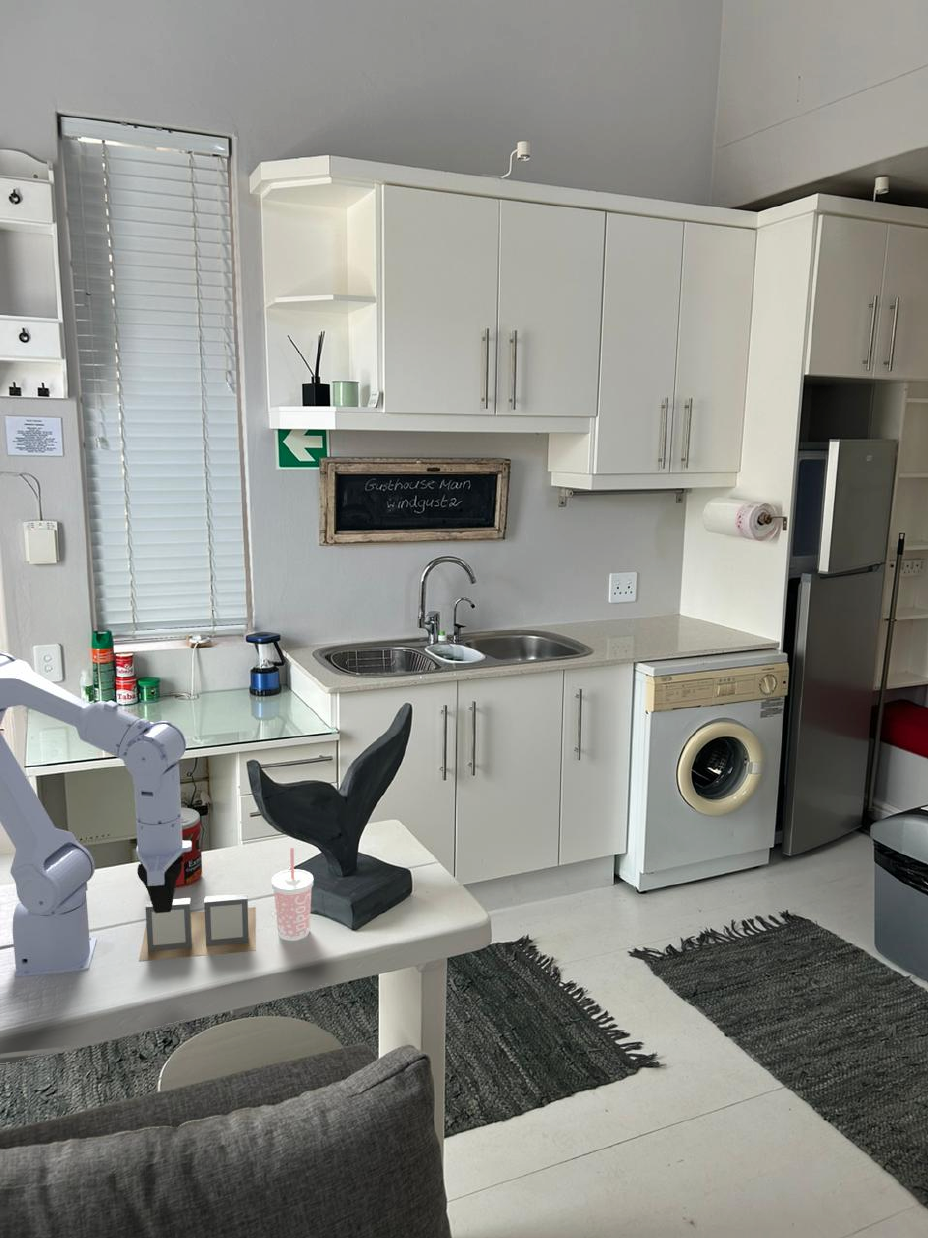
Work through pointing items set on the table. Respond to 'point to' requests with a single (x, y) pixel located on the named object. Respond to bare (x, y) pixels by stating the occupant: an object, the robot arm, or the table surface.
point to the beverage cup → (293, 901)
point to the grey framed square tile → (169, 926)
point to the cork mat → (202, 941)
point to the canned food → (194, 857)
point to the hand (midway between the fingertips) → (163, 908)
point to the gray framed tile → (226, 919)
